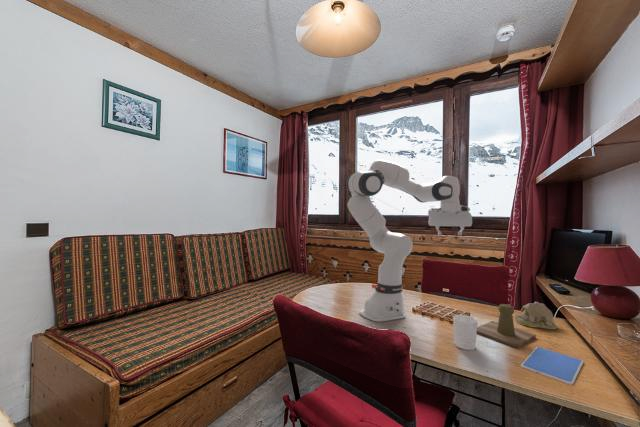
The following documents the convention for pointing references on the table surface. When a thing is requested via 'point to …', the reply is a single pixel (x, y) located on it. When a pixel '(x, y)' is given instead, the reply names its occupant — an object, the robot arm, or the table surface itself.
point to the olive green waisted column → (506, 320)
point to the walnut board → (514, 341)
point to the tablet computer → (553, 365)
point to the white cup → (465, 331)
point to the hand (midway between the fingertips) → (449, 235)
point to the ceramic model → (536, 316)
